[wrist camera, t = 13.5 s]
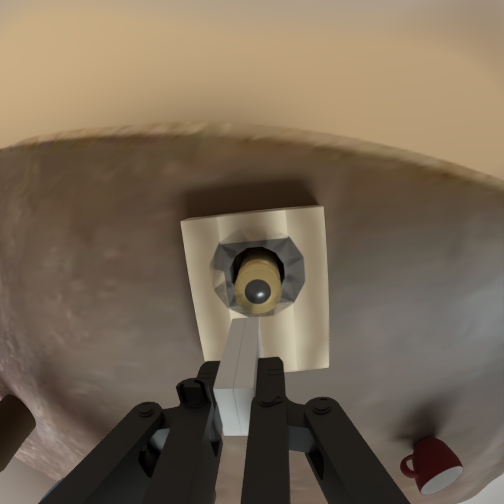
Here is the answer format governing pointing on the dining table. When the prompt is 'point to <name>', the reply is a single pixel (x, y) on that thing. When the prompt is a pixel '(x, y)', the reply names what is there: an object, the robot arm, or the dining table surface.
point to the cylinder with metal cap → (258, 282)
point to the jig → (292, 280)
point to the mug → (432, 466)
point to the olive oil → (13, 427)
